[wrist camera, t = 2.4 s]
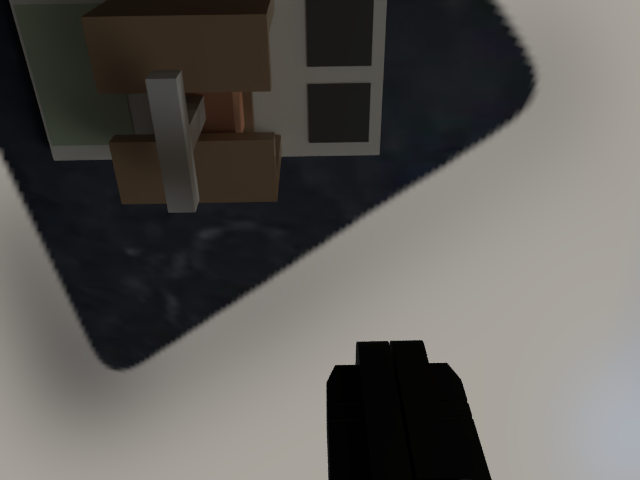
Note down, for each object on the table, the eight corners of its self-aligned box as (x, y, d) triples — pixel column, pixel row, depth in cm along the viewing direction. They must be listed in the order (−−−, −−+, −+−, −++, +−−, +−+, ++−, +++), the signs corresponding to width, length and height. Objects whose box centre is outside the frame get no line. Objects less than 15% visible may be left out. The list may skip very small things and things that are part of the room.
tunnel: (16, -21, 31) (-64, 9, 25) (384, -26, 32) (405, 2, 25) (62, 150, 37) (7, 213, 30) (376, 145, 37) (392, 206, 30)
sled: (153, 23, 31) (96, 79, 23) (247, 22, 31) (224, 77, 23) (170, 129, 34) (125, 213, 26) (255, 127, 34) (237, 211, 26)
